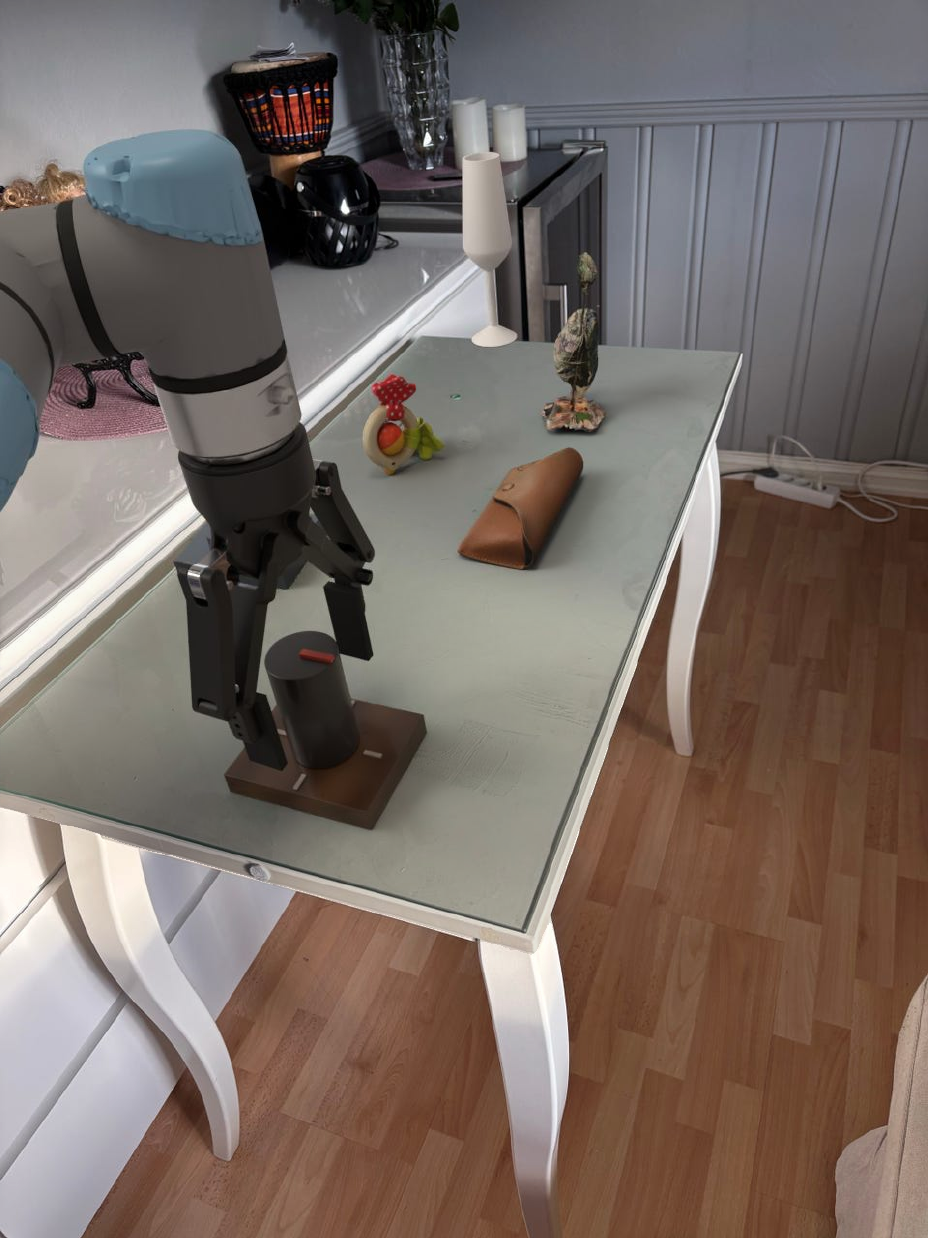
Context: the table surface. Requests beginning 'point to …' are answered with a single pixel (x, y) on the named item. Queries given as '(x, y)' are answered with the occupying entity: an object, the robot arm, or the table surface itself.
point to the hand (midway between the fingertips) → (315, 705)
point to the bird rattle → (396, 427)
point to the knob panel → (339, 769)
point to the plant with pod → (577, 362)
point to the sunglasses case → (523, 511)
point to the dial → (313, 698)
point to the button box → (202, 548)
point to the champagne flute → (486, 233)
